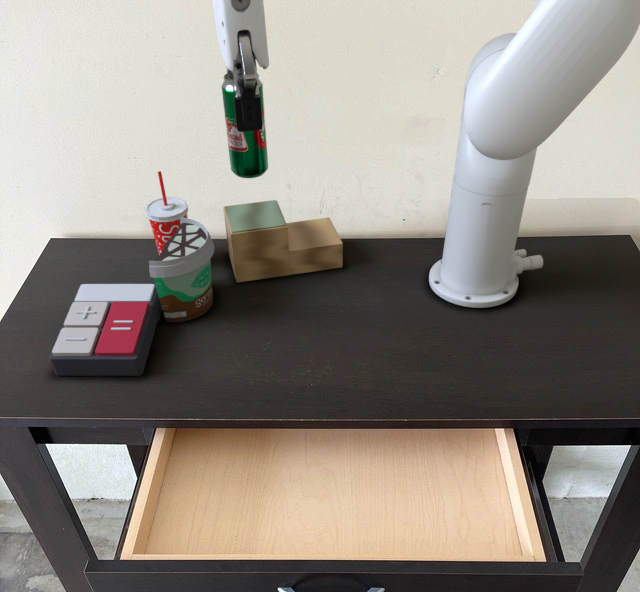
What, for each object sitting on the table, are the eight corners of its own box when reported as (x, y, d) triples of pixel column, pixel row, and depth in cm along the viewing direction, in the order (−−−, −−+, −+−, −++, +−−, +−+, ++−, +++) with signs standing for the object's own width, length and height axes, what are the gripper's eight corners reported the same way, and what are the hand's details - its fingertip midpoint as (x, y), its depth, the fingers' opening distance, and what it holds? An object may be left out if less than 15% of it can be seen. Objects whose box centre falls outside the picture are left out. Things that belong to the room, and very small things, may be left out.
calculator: (45, 354, 79) (77, 279, 89) (56, 379, 82) (86, 304, 92) (135, 354, 79) (158, 278, 89) (143, 379, 82) (164, 304, 92)
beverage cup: (150, 270, 99) (129, 180, 89) (165, 249, 103) (147, 160, 93) (188, 274, 98) (172, 184, 88) (202, 253, 102) (188, 164, 92)
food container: (205, 333, 88) (194, 268, 80) (161, 328, 89) (146, 263, 81) (232, 282, 96) (224, 218, 89) (192, 277, 97) (181, 215, 90)
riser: (329, 240, 104) (329, 192, 98) (342, 267, 98) (343, 217, 93) (229, 254, 101) (222, 205, 96) (236, 282, 96) (230, 232, 90)
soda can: (224, 170, 89) (212, 74, 81) (255, 160, 91) (247, 66, 83) (244, 183, 86) (234, 86, 78) (275, 172, 89) (270, 76, 80)
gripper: (280, -38, 66) (288, 144, 79) (251, -69, 78) (263, 95, 91) (205, -33, 65) (226, 151, 78) (188, -65, 76) (208, 100, 89)
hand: (245, 119), depth 84 cm, fingers closed on soda can, 5 cm apart
